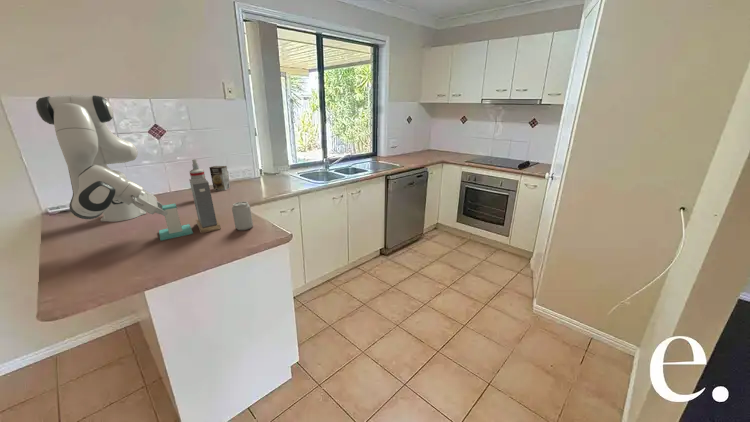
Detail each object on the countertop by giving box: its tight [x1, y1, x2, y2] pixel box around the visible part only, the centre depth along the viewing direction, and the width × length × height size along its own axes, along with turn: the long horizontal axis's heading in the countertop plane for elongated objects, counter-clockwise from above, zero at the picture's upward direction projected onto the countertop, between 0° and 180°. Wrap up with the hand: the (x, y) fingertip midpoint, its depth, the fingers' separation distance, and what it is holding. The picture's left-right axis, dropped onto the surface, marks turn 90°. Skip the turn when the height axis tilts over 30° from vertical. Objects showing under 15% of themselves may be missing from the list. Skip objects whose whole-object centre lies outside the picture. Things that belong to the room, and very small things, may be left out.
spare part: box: [162, 203, 182, 234], centre depth 133 cm, size 5×5×12 cm
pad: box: [158, 223, 194, 241], centre depth 135 cm, size 12×12×1 cm
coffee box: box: [209, 165, 231, 191], centre depth 208 cm, size 9×6×16 cm
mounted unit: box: [189, 177, 222, 234], centre depth 138 cm, size 15×8×22 cm, turn 36°
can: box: [231, 201, 254, 231], centre depth 137 cm, size 8×8×12 cm
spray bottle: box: [188, 158, 206, 179], centre depth 182 cm, size 8×8×25 cm
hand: (166, 211), depth 131 cm, fingers open, 8 cm apart
